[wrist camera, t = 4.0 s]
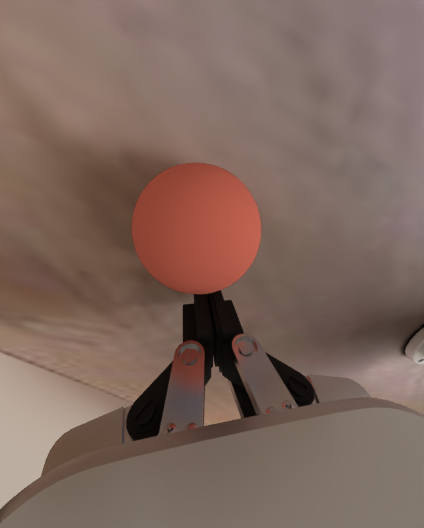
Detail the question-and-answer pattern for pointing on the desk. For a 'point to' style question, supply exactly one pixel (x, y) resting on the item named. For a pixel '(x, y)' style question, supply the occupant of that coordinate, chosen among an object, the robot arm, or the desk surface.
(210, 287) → the ball
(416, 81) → the desk surface
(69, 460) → the robot arm
